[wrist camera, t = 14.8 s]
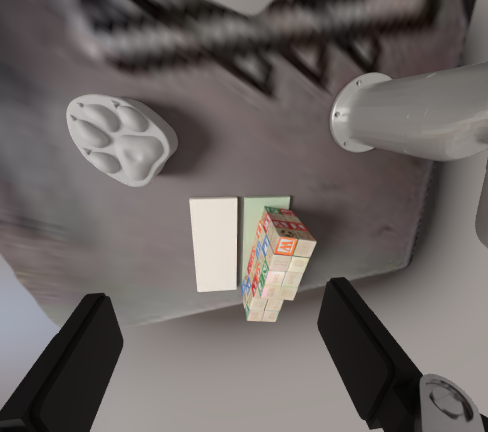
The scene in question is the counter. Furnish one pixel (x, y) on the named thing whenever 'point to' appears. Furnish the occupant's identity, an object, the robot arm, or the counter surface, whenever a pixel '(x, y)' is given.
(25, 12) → the counter surface
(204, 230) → the cream mat
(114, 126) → the grey animal paw
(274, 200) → the sage mat
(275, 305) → the stack of blocks
